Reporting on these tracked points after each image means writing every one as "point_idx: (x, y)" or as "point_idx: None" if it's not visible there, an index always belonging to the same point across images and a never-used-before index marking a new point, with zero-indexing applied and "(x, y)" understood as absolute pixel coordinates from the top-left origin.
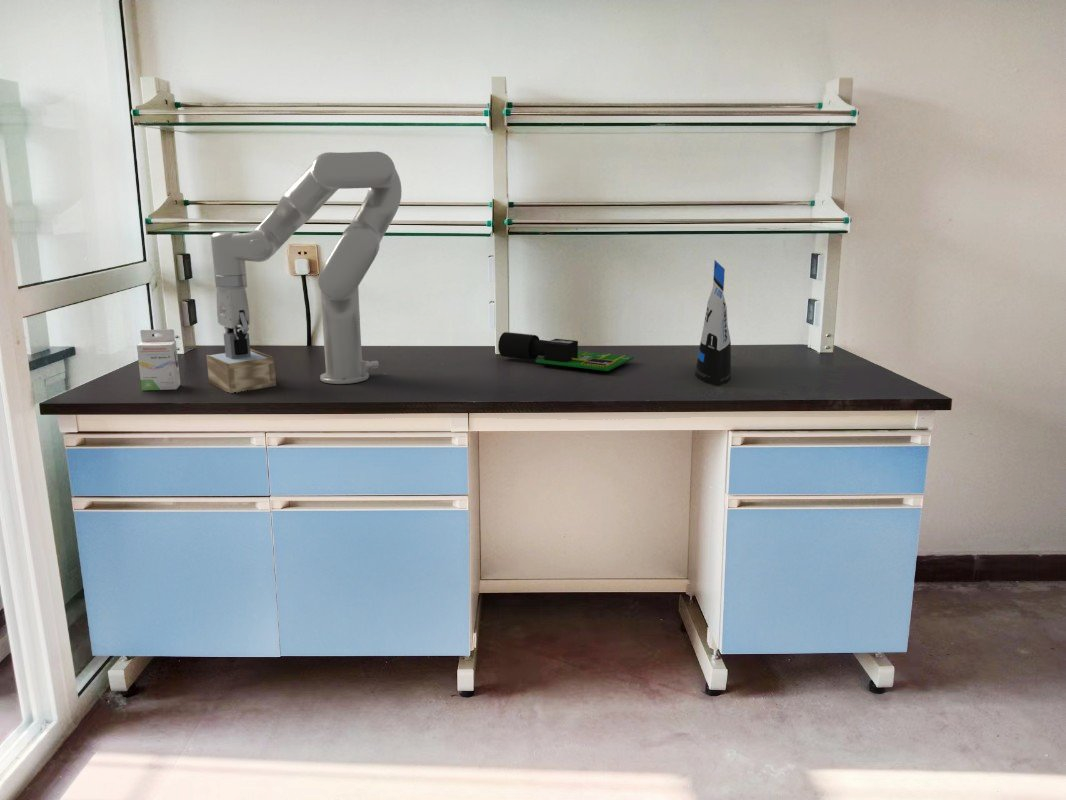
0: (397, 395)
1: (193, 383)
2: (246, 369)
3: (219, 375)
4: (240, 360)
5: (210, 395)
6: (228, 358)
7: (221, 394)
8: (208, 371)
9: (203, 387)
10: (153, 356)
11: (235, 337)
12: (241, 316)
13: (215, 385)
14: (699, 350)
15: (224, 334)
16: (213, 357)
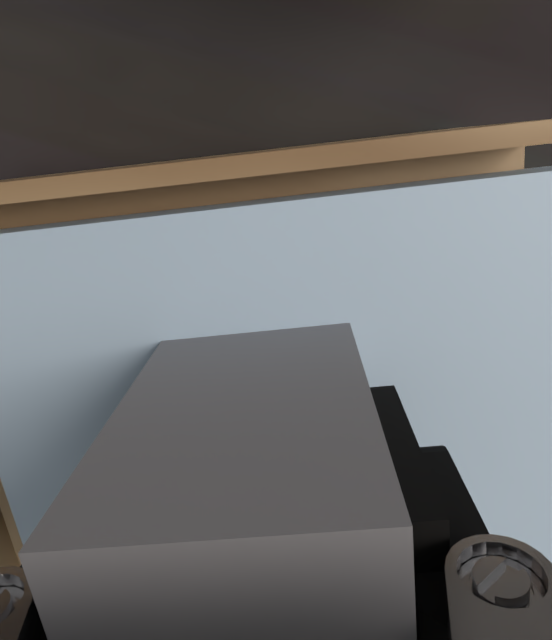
0: None
1: (533, 4)
2: None
3: (169, 161)
4: (34, 394)
5: (20, 25)
6: (217, 318)
7: (16, 114)
8: (464, 127)
9: (328, 46)
10: None
11: (25, 607)
12: None
13: (302, 145)
14: None
15: (342, 522)
16: (319, 161)
